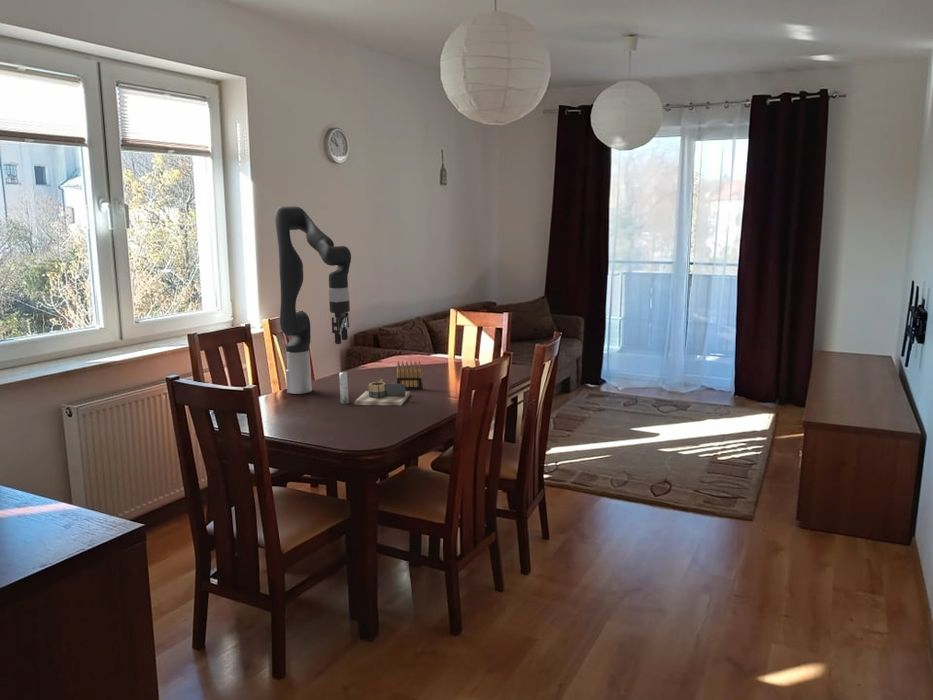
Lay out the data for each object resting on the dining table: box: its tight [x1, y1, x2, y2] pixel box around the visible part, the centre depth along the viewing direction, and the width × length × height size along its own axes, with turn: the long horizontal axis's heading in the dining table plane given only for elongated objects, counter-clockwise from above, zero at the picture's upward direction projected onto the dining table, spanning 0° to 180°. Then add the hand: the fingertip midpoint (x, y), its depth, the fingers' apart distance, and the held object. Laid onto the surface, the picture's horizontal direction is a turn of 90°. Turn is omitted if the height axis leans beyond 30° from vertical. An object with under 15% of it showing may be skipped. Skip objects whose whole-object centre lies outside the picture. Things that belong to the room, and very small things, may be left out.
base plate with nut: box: [354, 378, 411, 406], centre depth 286 cm, size 18×16×6 cm
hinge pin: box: [338, 371, 350, 405], centre depth 283 cm, size 3×3×12 cm
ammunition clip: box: [396, 360, 424, 391], centre depth 302 cm, size 11×2×12 cm, turn 84°
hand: (341, 341), depth 280 cm, fingers open, 8 cm apart
